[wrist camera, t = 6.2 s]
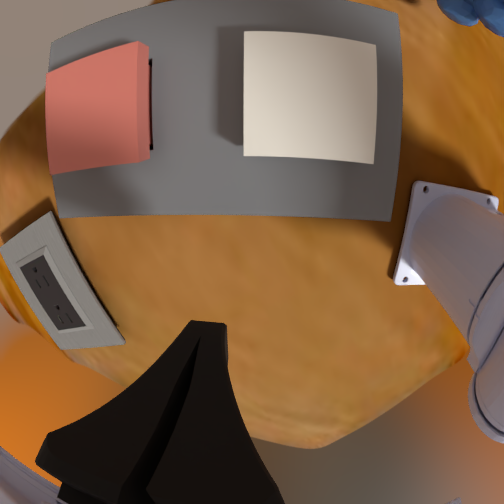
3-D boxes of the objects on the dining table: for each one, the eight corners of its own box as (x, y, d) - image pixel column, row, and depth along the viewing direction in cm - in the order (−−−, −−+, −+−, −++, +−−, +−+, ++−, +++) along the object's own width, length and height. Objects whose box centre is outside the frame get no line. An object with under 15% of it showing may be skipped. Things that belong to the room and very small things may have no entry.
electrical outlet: (11, 239, 20) (-4, 249, 18) (63, 203, 18) (46, 213, 16) (69, 337, 25) (59, 351, 23) (132, 329, 23) (123, 346, 21)
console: (375, 29, 11) (397, 13, 8) (369, 203, 17) (390, 221, 13) (81, 49, 12) (51, 42, 9) (87, 201, 17) (59, 218, 14)
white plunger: (344, 65, 13) (375, 45, 8) (342, 151, 15) (373, 164, 11) (250, 58, 13) (244, 31, 8) (250, 146, 15) (243, 155, 11)
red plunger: (175, 62, 13) (138, 40, 8) (176, 149, 15) (139, 162, 10) (97, 79, 13) (46, 73, 8) (100, 158, 15) (50, 175, 11)
